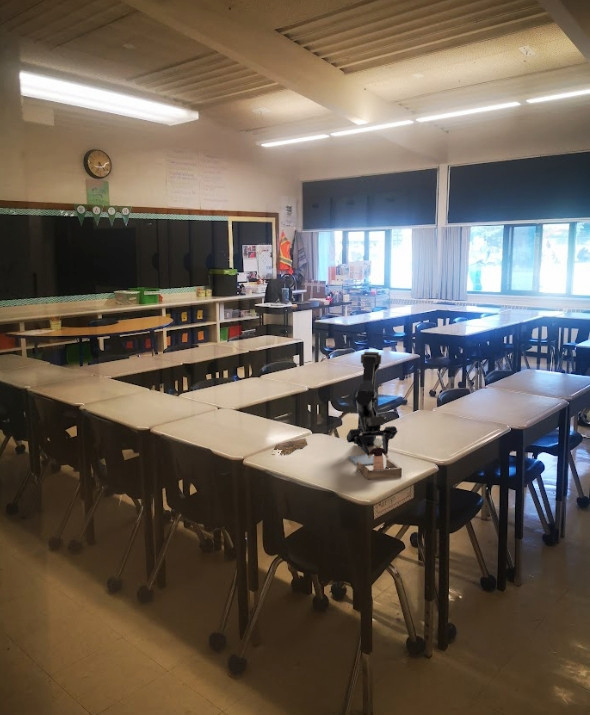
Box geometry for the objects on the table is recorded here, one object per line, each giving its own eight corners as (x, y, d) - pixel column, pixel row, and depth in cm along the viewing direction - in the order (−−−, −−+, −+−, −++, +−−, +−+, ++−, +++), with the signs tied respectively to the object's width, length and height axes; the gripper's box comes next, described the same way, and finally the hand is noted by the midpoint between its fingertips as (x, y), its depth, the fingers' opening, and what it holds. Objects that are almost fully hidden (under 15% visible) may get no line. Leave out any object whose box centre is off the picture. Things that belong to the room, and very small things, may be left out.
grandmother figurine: (384, 468, 225) (385, 436, 223) (388, 471, 222) (390, 439, 220) (365, 470, 223) (366, 437, 221) (370, 474, 219) (370, 440, 217)
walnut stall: (356, 469, 224) (356, 461, 224) (388, 466, 228) (388, 458, 227) (368, 479, 214) (368, 471, 213) (401, 476, 217) (401, 468, 217)
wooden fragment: (283, 458, 237) (283, 455, 237) (261, 452, 243) (261, 450, 243) (318, 442, 258) (318, 439, 258) (297, 437, 264) (297, 435, 264)
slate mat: (347, 457, 237) (347, 456, 237) (371, 455, 240) (371, 454, 240) (357, 466, 228) (357, 464, 227) (381, 463, 230) (381, 462, 230)
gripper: (349, 408, 220) (360, 446, 212) (396, 405, 226) (408, 442, 217) (342, 423, 229) (351, 460, 221) (386, 420, 234) (398, 456, 226)
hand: (377, 454), depth 221 cm, fingers closed on grandmother figurine, 7 cm apart
